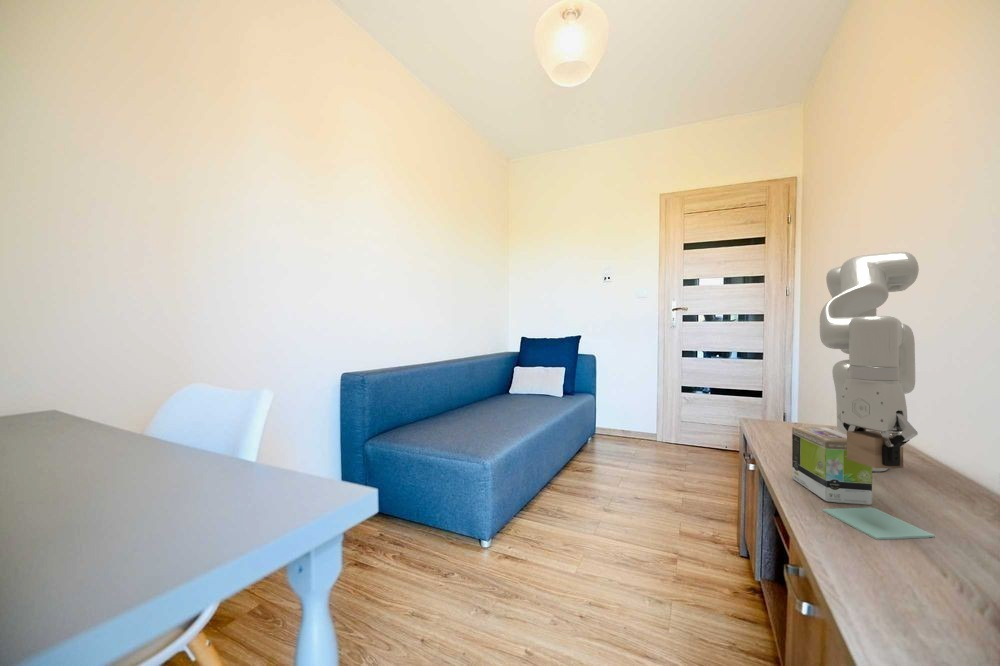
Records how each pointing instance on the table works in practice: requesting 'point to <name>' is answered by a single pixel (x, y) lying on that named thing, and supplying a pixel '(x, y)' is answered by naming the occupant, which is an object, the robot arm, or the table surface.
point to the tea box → (829, 466)
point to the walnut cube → (868, 448)
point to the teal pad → (877, 523)
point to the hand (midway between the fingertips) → (874, 459)
